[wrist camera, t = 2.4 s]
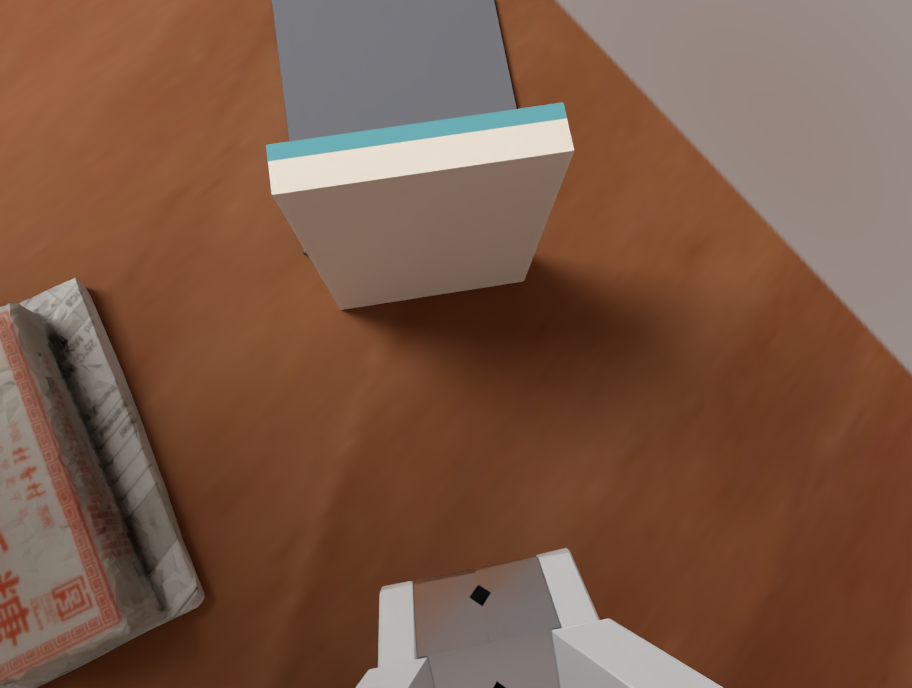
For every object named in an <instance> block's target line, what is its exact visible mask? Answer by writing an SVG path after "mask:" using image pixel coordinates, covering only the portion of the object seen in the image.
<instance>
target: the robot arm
mask: <svg viewBox="0 0 912 688" xmlns="http://www.w3.org/2000/svg"><path fill="white" fill-rule="evenodd" d="M356 688H723V687H721V686H720V685H718V684H717V683H715V682H713V681H712V680H710V679H708V678H707V677H705V676H703V675H702V674H700V673H698V672H697V671H695V670H694V669H692V668H690V667H689V666H687V665H685V664H684V663H682V662H680V661H679V660H677V659H675V658H674V657H672V656H671V655H669V654H667V653H666V652H664V651H662V650H661V649H659V648H657V647H656V646H654V645H653V644H651V643H649V642H648V641H646V640H644V639H643V638H641V637H639V636H638V635H636V634H634V633H633V632H631V631H630V630H628V629H626V628H625V627H623V626H621V625H620V624H618V623H616V622H615V621H613V620H611V619H610V618H608V619H603V620H600V619H599V617H598V614H597V612H596V610H595V607H594V605H593V603H592V601H591V598H590V596H589V594H588V591H587V589H586V587H585V584H584V582H583V580H582V577H581V575H580V573H579V570H578V568H577V566H576V564H575V561H574V559H573V557H572V554H571V552H570V551H569V550H568V549H567V548H564V549H559V550H555V551H551V552H547V553H542V554H538V555H536V556H534V557H529V558H525V559H520V560H515V561H511V562H506V563H501V564H497V565H492V566H487V567H483V568H478V569H471V570H466V571H460V572H455V573H449V574H444V575H439V576H433V577H428V578H422V579H417V580H414V582H413V581H408V582H403V583H398V584H393V585H388V586H383V587H382V588H381V591H380V596H379V643H378V668H374V669H370V670H368V671H367V672H366V674H365V675H364V677H363V678H362V679H361V681H360V682H359V683H358V685H357V686H356Z"/></svg>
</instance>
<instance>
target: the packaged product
mask: <svg viewBox="0 0 912 688" xmlns="http://www.w3.org/2000/svg"><path fill="white" fill-rule="evenodd" d="M204 597H205V596H204V592H203V589H202V586H201V584H200V581H199V579H198V576H197V574H196V571H195V568H194V566H193V563H192V561H191V558H190V556H189V553H188V551H187V549H186V546H185V544H184V542H183V539H182V536H181V532H180V529H179V526H178V523H177V520H176V517H175V514H174V511H173V508H172V505H171V502H170V499H169V495H168V492H167V489H166V486H165V484H164V481H163V479H162V476H161V474H160V471H159V468H158V465H157V463H156V460H155V457H154V454H153V452H152V449H151V446H150V443H149V441H148V438H147V435H146V432H145V429H144V426H143V423H142V421H141V418H140V415H139V413H138V410H137V407H136V405H135V402H134V400H133V397H132V394H131V392H130V389H129V387H128V384H127V382H126V379H125V376H124V374H123V371H122V369H121V366H120V364H119V362H118V359H117V357H116V355H115V352H114V350H113V348H112V345H111V343H110V341H109V338H108V336H107V333H106V331H105V329H104V326H103V324H102V322H101V319H100V317H99V315H98V312H97V310H96V308H95V305H94V303H93V300H92V298H91V296H90V294H89V293H88V291H87V289H86V287H85V286H84V285H83V284H82V283H81V282H79V281H78V280H77V279H76V278H74V279H71V280H69V281H67V282H64V283H62V284H60V285H58V286H55V287H53V288H51V289H48V290H46V291H44V292H43V293H41V294H39V295H37V296H34V297H32V298H30V299H27V300H25V301H23V302H21V303H19V304H17V303H11V302H9V303H8V304H7V305H6V306H3V307H0V688H37V687H39V686H41V685H43V684H45V683H47V682H50V681H52V680H54V679H56V678H58V677H60V676H62V675H64V674H66V673H68V672H70V671H73V670H75V669H77V668H79V667H81V666H83V665H85V664H87V663H89V662H90V661H92V660H94V659H96V658H98V657H100V656H102V655H104V654H105V653H107V652H109V651H111V650H113V649H115V648H117V647H119V646H121V645H122V644H124V643H126V642H128V641H130V640H132V639H134V638H136V637H137V636H139V635H141V634H143V633H145V632H147V631H149V630H151V629H153V628H155V627H158V626H160V625H162V624H164V623H166V622H168V621H170V620H172V619H174V618H176V617H179V616H181V615H183V614H185V613H187V612H189V611H191V610H193V609H195V608H197V607H198V606H199V605H200V604H201V603H202V602H203V600H204Z"/></svg>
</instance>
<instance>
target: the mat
mask: <svg viewBox="0 0 912 688" xmlns="http://www.w3.org/2000/svg"><path fill="white" fill-rule="evenodd" d="M272 5H273V13H274V21H275V29H276V37H277V45H278V53H279V61H280V69H281V77H282V85H283V93H284V101H285V109H286V117H287V125H288V133H289V141H297V140H304V139H311V138H318V137H325V136H332V135H339V134H346V133H353V132H360V131H367V130H374V129H381V128H388V127H395V126H402V125H409V124H416V123H423V122H430V121H437V120H444V119H451V118H458V117H465V116H472V115H479V114H486V113H493V112H500V111H507V110H514V109H517V108H516V103H515V98H514V94H513V89H512V84H511V79H510V74H509V70H508V65H507V60H506V55H505V51H504V46H503V41H502V36H501V31H500V27H499V22H498V17H497V12H496V7H495V3H494V0H272ZM303 253H304V254H307V253H306V251H305V250H304V248H303Z"/></svg>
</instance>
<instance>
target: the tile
mask: <svg viewBox="0 0 912 688" xmlns="http://www.w3.org/2000/svg"><path fill="white" fill-rule="evenodd" d="M266 149H267V158H268V167H269V175H270V184H271V192H272V196H273V198H274V200H275V201H276V203H277V205H278V206H279V208H280V210H281V211H282V213H283V215H284V216H285V218H286V220H287V221H288V223H289V225H290V226H291V228H292V230H293V231H294V233H295V235H296V236H297V238H298V240H299V241H300V243H301V245H302V246H303V248H304V250H305V251H306V253H307V255H308V256H309V258H310V260H311V261H312V263H313V265H314V266H315V268H316V270H317V271H318V273H319V275H320V276H321V278H322V280H323V281H324V283H325V285H326V286H327V288H328V290H329V291H330V293H331V295H332V296H333V298H334V300H335V301H336V303H337V305H338V306H339V308H340V310H344V309H351V308H357V307H364V306H370V305H376V304H383V303H389V302H395V301H402V300H408V299H415V298H421V297H427V296H434V295H440V294H447V293H453V292H459V291H466V290H472V289H478V288H485V287H491V286H498V285H504V284H510V283H517V282H523V281H524V280H525V277H526V275H527V272H528V270H529V267H530V264H531V262H532V259H533V257H534V254H535V251H536V249H537V246H538V244H539V241H540V238H541V236H542V233H543V231H544V228H545V225H546V223H547V220H548V218H549V215H550V212H551V210H552V207H553V205H554V202H555V199H556V197H557V194H558V192H559V189H560V186H561V184H562V181H563V179H564V176H565V173H566V171H567V168H568V166H569V163H570V160H571V158H572V155H573V152H574V147H573V143H572V139H571V134H570V130H569V125H568V121H567V116H566V112H565V108H564V103H556V104H549V105H542V106H535V107H528V108H521V109H514V110H507V111H500V112H493V113H486V114H479V115H472V116H465V117H458V118H451V119H444V120H437V121H430V122H423V123H416V124H409V125H402V126H395V127H388V128H381V129H374V130H367V131H360V132H353V133H346V134H339V135H332V136H325V137H318V138H311V139H304V140H297V141H290V142H283V143H276V144H269V145H266Z"/></svg>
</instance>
